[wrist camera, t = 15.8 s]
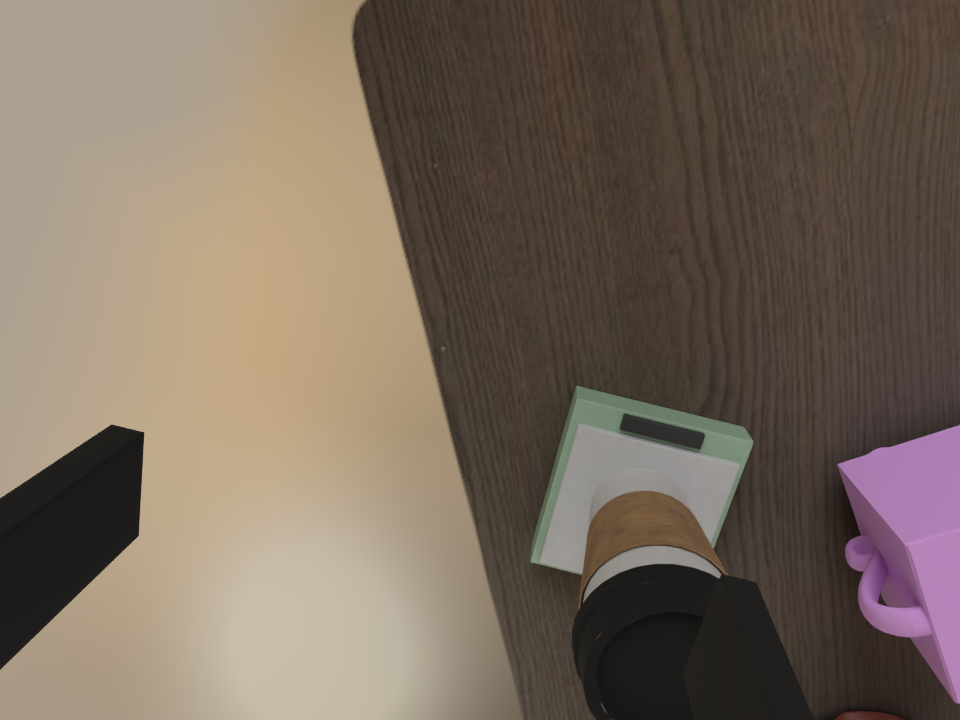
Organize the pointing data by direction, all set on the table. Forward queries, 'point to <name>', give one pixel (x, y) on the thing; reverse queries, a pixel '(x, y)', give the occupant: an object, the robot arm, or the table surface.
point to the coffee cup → (641, 598)
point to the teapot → (911, 545)
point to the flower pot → (867, 716)
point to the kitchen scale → (634, 444)
